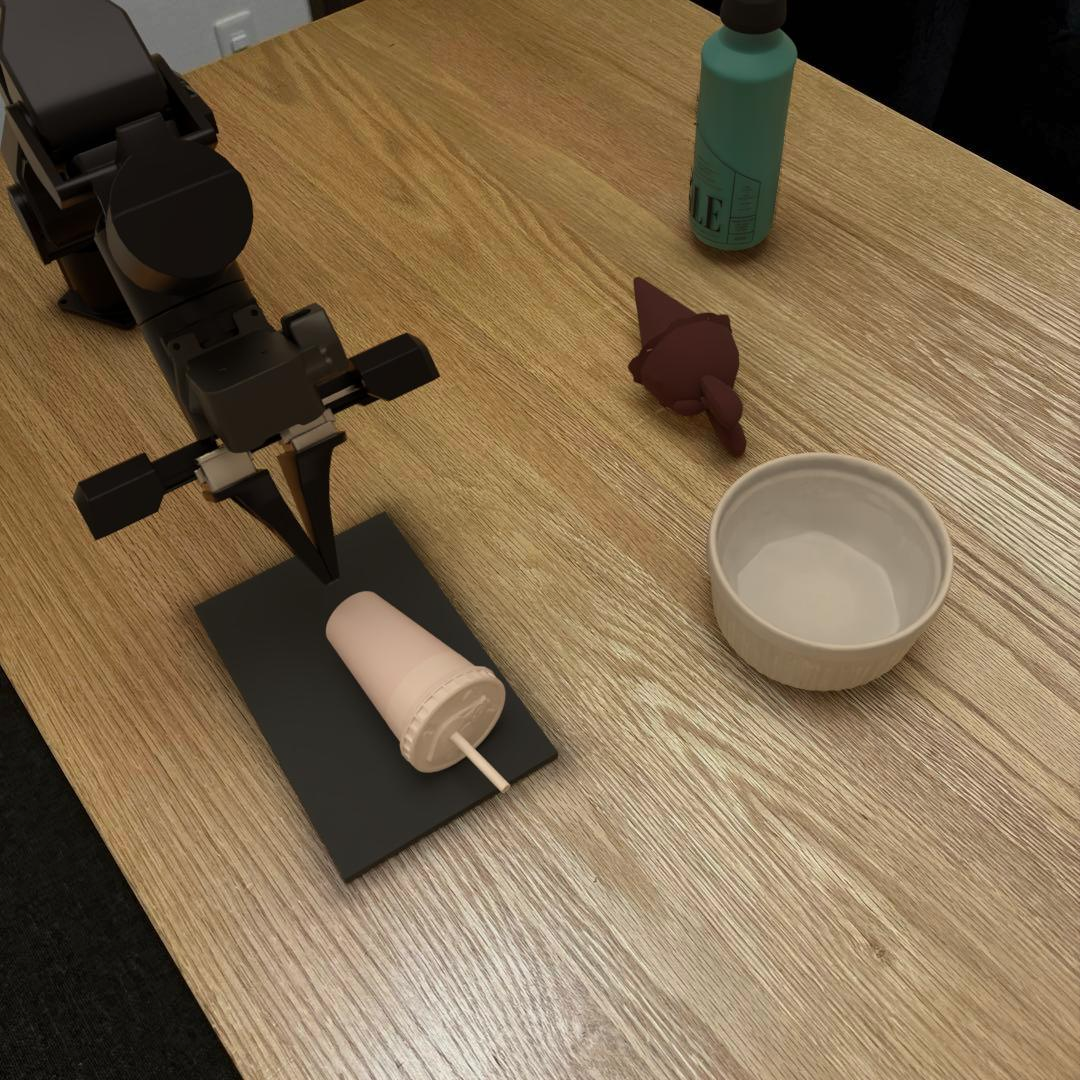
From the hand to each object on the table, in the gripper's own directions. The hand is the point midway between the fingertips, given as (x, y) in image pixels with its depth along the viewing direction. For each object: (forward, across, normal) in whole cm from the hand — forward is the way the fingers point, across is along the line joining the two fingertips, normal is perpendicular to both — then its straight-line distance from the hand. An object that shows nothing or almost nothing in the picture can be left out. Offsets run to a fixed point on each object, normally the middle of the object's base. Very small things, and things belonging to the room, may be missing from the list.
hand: (332, 582), depth 62 cm
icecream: (+1, +28, +11) cm, 30 cm away
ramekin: (+14, +24, -3) cm, 28 cm away
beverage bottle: (-6, +40, +18) cm, 45 cm away
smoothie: (+3, +1, +4) cm, 5 cm away
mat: (+7, 0, +5) cm, 8 cm away
